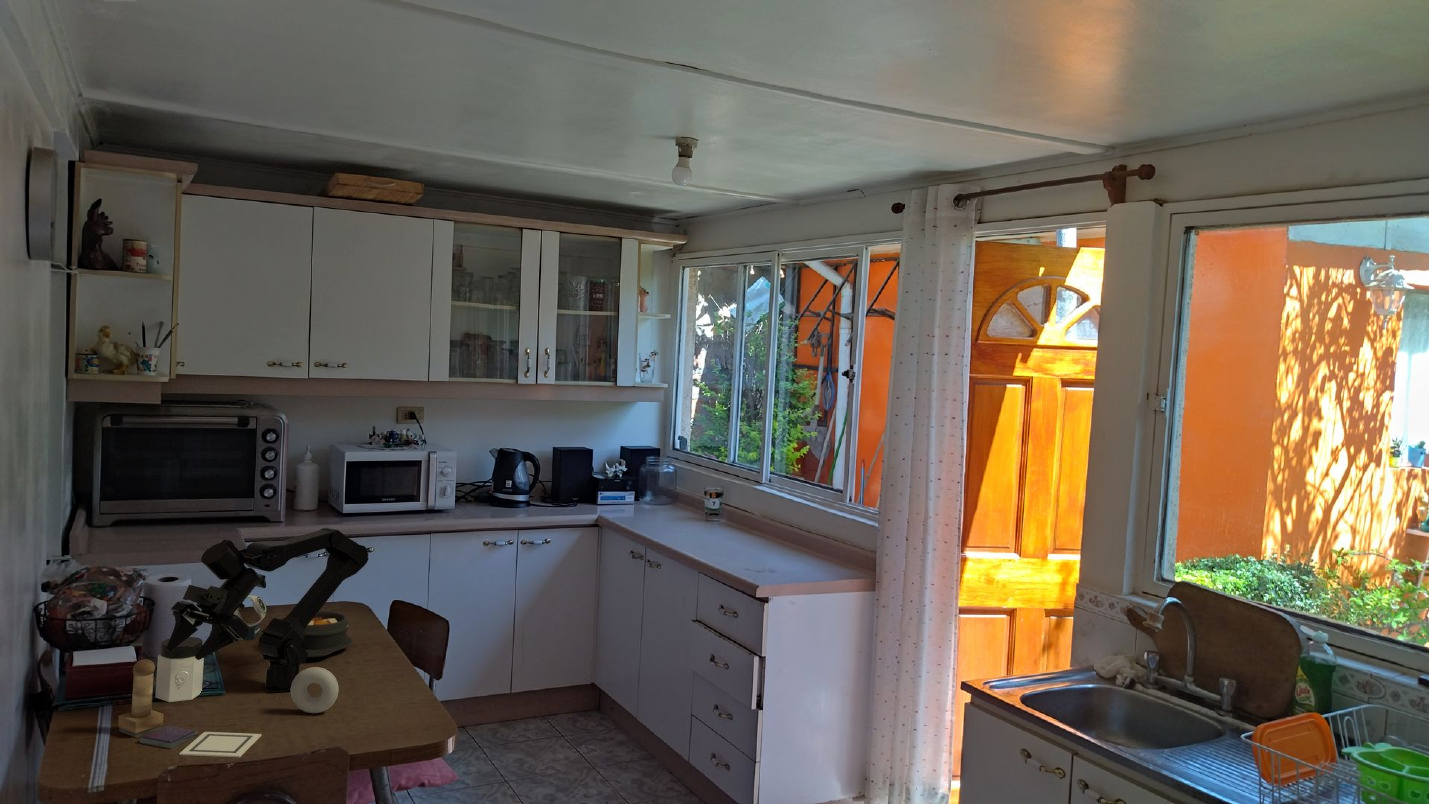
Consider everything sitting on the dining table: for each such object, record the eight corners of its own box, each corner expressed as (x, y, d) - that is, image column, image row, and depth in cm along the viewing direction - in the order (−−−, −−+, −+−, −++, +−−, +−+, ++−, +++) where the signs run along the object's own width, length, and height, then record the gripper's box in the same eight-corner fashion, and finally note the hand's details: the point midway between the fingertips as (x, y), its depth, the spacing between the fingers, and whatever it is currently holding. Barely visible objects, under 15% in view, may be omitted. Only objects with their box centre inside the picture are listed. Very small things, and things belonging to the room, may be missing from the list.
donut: (286, 714, 208) (289, 668, 208) (292, 709, 212) (295, 663, 212) (334, 717, 209) (337, 670, 209) (339, 711, 213) (342, 666, 212)
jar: (156, 704, 209) (160, 648, 208) (154, 692, 216) (157, 638, 215) (203, 699, 214) (207, 644, 213) (199, 687, 220) (202, 635, 220)
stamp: (145, 723, 198) (149, 653, 198) (162, 729, 196) (166, 659, 195) (117, 731, 193) (121, 660, 193) (135, 738, 191) (139, 665, 190)
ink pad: (167, 730, 195) (167, 724, 195) (197, 736, 194) (197, 730, 194) (139, 742, 188) (139, 736, 188) (170, 748, 187) (170, 742, 187)
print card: (204, 733, 195) (204, 731, 195) (261, 735, 196) (261, 733, 196) (179, 755, 184) (179, 753, 184) (239, 757, 185) (239, 755, 185)
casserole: (339, 665, 243) (341, 632, 243) (260, 663, 240) (263, 629, 240) (361, 637, 268) (363, 607, 268) (290, 635, 265) (292, 604, 265)
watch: (261, 640, 258) (263, 599, 258) (229, 639, 257) (231, 597, 257) (267, 634, 264) (270, 594, 264) (235, 633, 263) (238, 593, 262)
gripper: (182, 563, 210) (128, 624, 200) (240, 577, 201) (187, 641, 192) (213, 593, 217) (162, 653, 207) (270, 608, 208) (220, 671, 199)
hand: (182, 654), depth 201 cm, fingers open, 9 cm apart
